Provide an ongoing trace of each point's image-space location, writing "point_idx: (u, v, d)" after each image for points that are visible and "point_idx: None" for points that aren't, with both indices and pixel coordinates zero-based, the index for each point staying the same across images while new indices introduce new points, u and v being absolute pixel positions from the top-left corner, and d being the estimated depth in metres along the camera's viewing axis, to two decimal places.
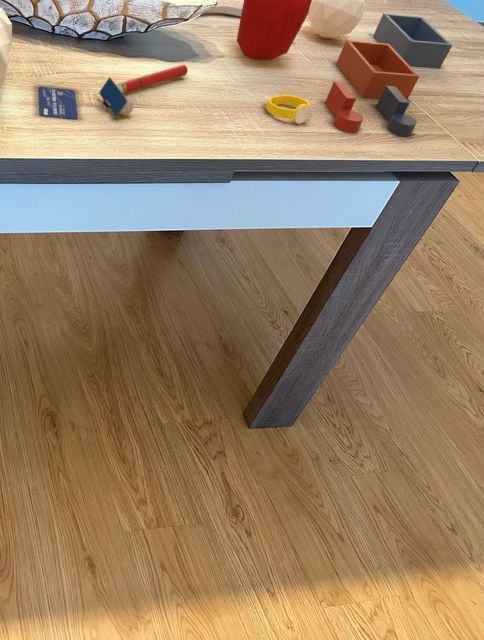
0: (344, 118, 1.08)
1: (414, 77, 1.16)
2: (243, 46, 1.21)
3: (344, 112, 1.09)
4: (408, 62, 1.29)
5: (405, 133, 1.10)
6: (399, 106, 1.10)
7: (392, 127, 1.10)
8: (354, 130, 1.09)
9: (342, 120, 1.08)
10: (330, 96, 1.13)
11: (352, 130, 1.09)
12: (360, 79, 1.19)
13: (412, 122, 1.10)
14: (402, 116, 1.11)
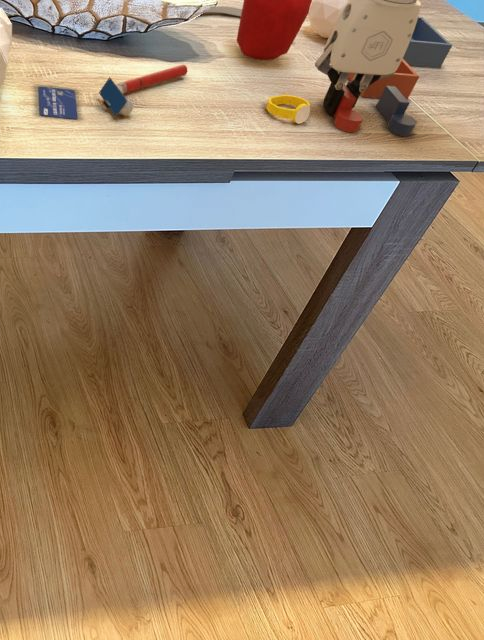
0: (344, 118, 1.08)
1: (414, 77, 1.16)
2: (243, 46, 1.21)
3: (344, 112, 1.09)
4: (408, 62, 1.29)
5: (405, 133, 1.10)
6: (399, 106, 1.10)
7: (392, 127, 1.10)
8: (354, 130, 1.09)
9: (342, 120, 1.08)
10: None
11: (352, 130, 1.09)
12: None
13: (412, 122, 1.10)
14: (402, 116, 1.11)
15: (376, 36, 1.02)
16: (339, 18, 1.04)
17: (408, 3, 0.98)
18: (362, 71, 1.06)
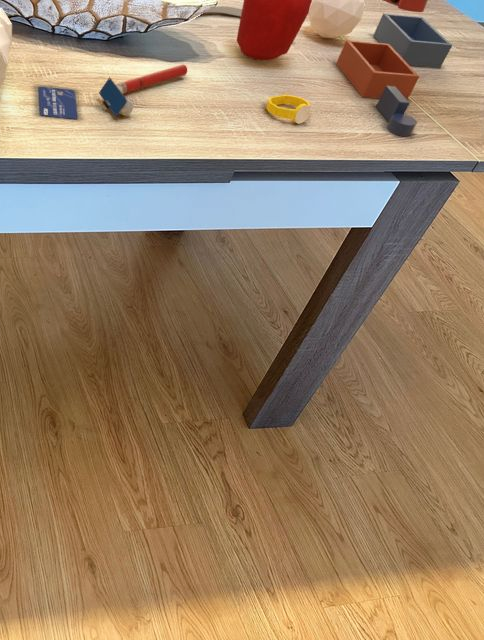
0: None
1: (414, 77, 1.16)
2: (243, 46, 1.21)
3: None
4: (408, 62, 1.29)
5: (405, 133, 1.10)
6: (399, 106, 1.10)
7: (392, 127, 1.10)
8: (420, 9, 1.08)
9: (407, 0, 1.08)
10: None
11: (418, 9, 1.08)
12: (360, 79, 1.19)
13: (412, 122, 1.10)
14: (402, 116, 1.11)
15: None
16: None
17: None
18: None
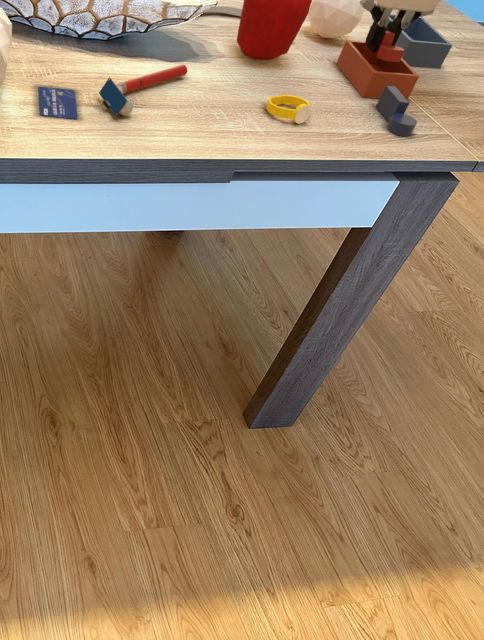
0: (387, 48, 1.16)
1: (414, 77, 1.16)
2: (243, 46, 1.21)
3: (385, 45, 1.17)
4: (408, 62, 1.29)
5: (405, 133, 1.10)
6: (399, 106, 1.10)
7: (392, 127, 1.10)
8: (397, 60, 1.16)
9: (385, 51, 1.16)
10: None
11: (395, 60, 1.16)
12: (360, 79, 1.19)
13: (412, 122, 1.10)
14: (402, 116, 1.11)
15: None
16: None
17: None
18: (405, 7, 1.13)
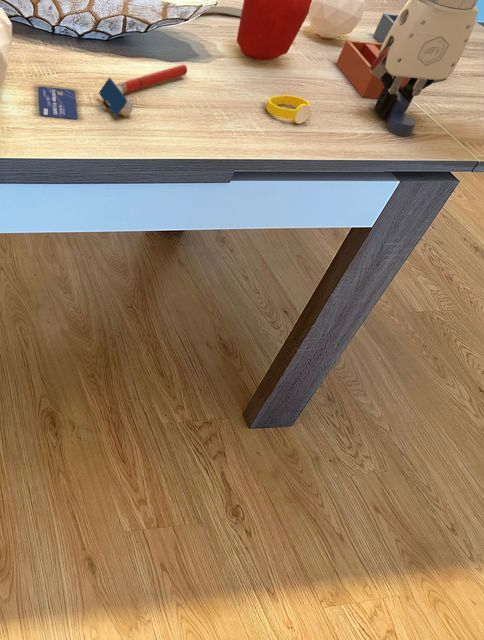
0: None
1: None
2: (243, 46, 1.21)
3: None
4: None
5: (405, 133, 1.10)
6: (399, 106, 1.10)
7: (392, 127, 1.10)
8: None
9: None
10: None
11: None
12: (360, 79, 1.19)
13: (412, 122, 1.10)
14: (402, 116, 1.11)
15: (433, 41, 1.03)
16: (395, 23, 1.05)
17: (467, 9, 1.00)
18: (417, 76, 1.07)
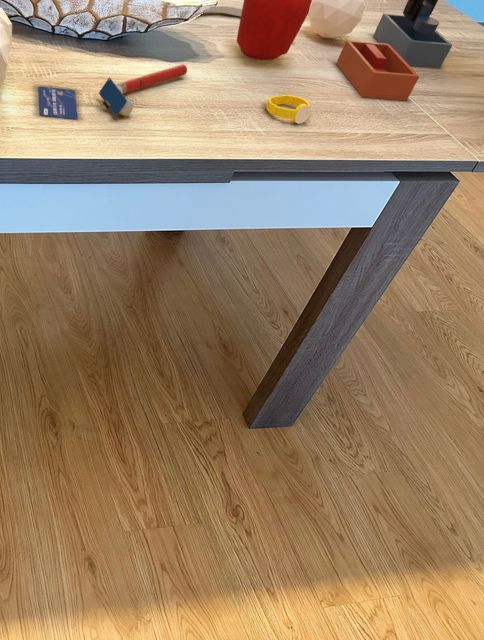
0: None
1: (414, 77, 1.16)
2: (243, 46, 1.21)
3: None
4: (408, 62, 1.29)
5: (429, 32, 1.27)
6: (423, 9, 1.28)
7: (417, 27, 1.28)
8: None
9: None
10: None
11: None
12: (360, 79, 1.19)
13: (435, 22, 1.27)
14: (426, 18, 1.28)
15: None
16: None
17: None
18: None
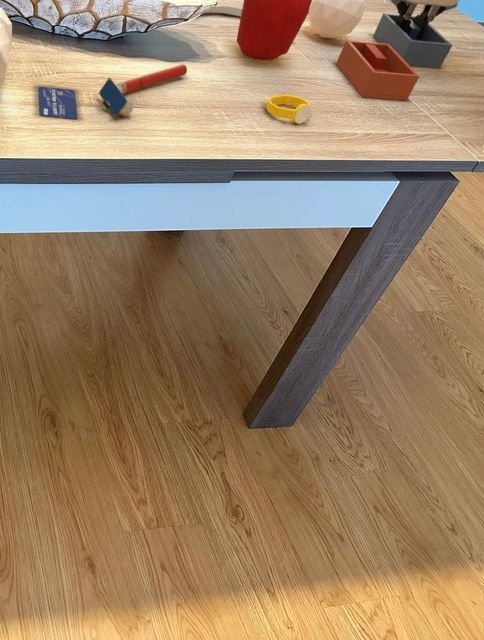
0: None
1: (414, 77, 1.16)
2: (243, 46, 1.21)
3: None
4: (408, 62, 1.29)
5: None
6: (412, 32, 1.31)
7: None
8: None
9: None
10: None
11: None
12: (360, 79, 1.19)
13: None
14: None
15: None
16: None
17: None
18: (430, 2, 1.27)
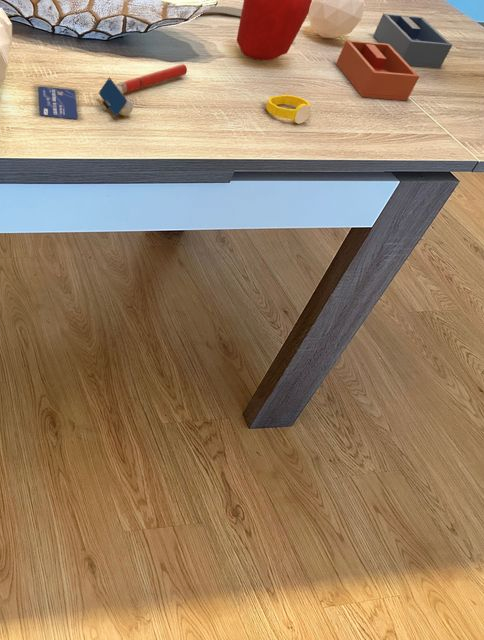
0: None
1: (414, 77, 1.16)
2: (243, 46, 1.21)
3: None
4: (408, 62, 1.29)
5: None
6: (412, 32, 1.31)
7: None
8: None
9: None
10: None
11: None
12: (360, 79, 1.19)
13: None
14: None
15: None
16: None
17: None
18: None
